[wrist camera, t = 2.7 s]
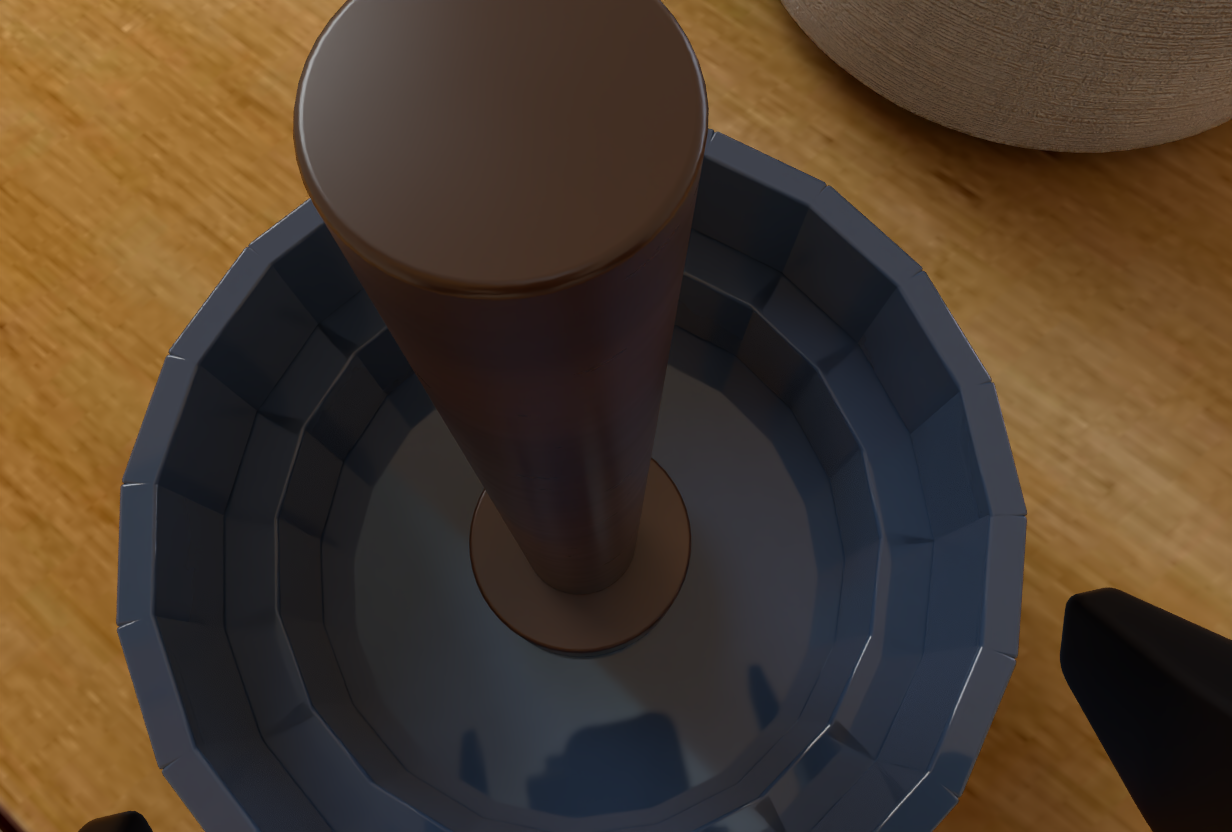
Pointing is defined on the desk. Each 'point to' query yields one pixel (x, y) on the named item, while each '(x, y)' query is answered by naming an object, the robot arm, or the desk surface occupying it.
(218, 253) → the desk surface
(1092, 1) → the planter
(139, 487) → the bowl
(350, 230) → the stirring stick
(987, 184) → the desk surface
